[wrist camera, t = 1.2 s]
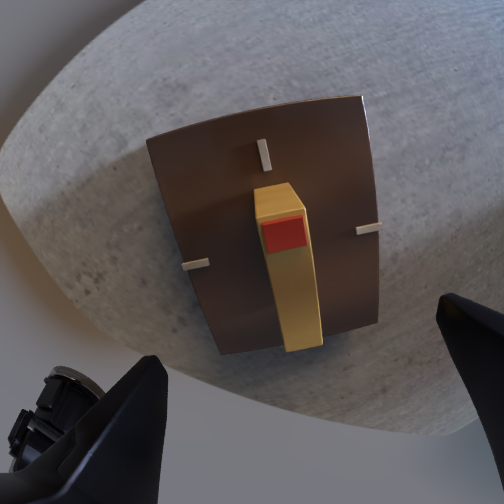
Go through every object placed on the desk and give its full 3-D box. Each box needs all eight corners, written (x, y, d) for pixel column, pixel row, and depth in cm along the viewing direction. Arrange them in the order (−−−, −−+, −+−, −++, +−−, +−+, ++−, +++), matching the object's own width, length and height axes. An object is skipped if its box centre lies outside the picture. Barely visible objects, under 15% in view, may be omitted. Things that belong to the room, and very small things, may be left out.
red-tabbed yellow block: (307, 293, 15) (324, 349, 11) (278, 299, 15) (286, 357, 11) (288, 181, 12) (306, 209, 8) (253, 189, 12) (255, 219, 9)
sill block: (364, 296, 19) (380, 324, 16) (222, 325, 19) (218, 357, 17) (344, 98, 13) (365, 93, 10) (161, 137, 14) (141, 140, 11)
